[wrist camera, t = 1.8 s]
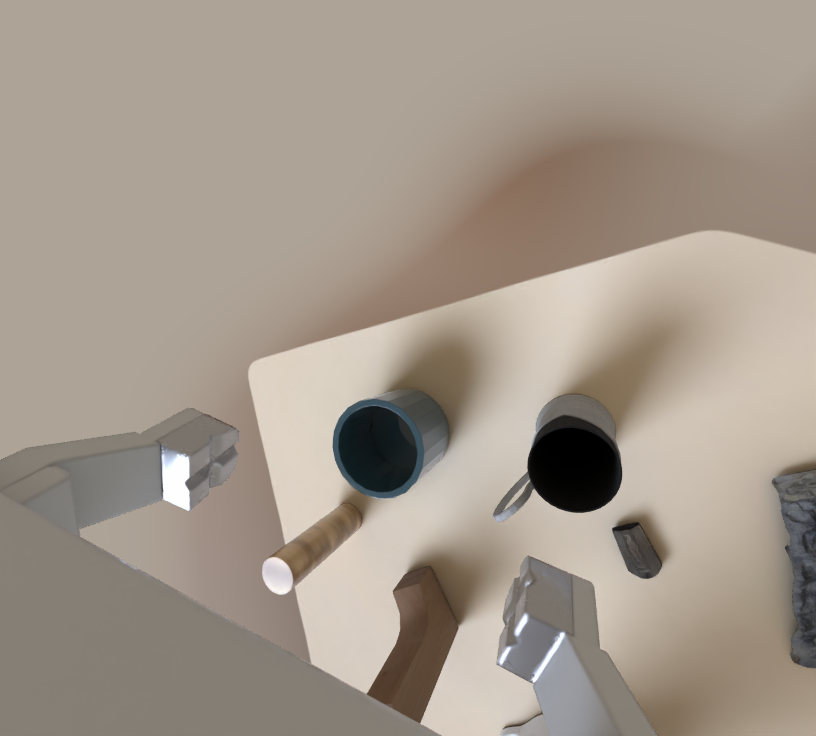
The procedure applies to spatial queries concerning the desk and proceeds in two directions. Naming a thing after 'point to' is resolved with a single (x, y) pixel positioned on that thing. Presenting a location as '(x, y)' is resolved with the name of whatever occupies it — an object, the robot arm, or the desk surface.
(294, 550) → the rolling pin
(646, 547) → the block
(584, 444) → the glass holder
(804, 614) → the grey fabric pouch
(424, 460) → the crock
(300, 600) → the desk surface
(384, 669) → the wooden block
